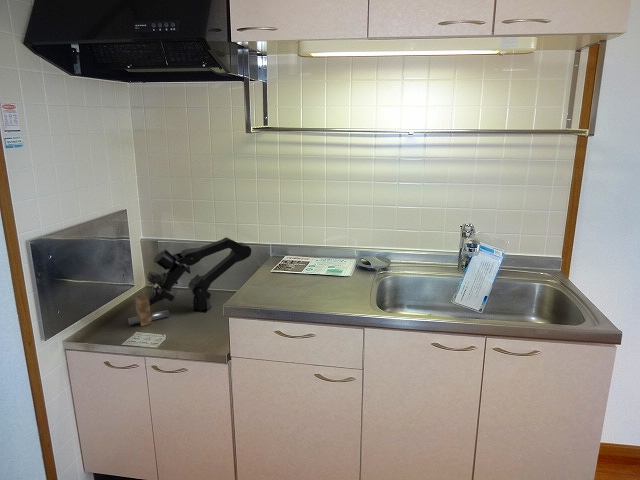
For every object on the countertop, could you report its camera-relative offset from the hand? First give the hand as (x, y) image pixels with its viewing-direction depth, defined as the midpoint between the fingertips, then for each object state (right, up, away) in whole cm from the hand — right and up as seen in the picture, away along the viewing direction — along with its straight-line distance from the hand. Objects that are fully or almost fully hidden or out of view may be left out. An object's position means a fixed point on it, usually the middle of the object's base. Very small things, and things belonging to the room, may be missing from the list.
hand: (148, 304), depth 197 cm
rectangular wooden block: (-2, -7, +1) cm, 8 cm away
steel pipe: (0, -7, +2) cm, 7 cm away
